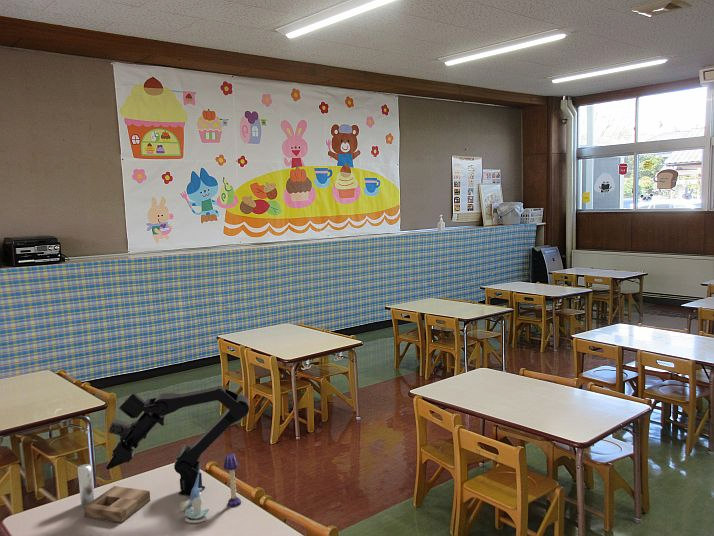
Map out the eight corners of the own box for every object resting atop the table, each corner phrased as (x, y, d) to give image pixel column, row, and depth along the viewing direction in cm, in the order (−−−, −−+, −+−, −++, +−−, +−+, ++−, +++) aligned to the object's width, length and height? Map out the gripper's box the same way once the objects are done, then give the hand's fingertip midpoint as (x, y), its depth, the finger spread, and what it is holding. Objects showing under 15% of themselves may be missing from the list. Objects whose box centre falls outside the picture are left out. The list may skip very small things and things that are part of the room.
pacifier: (204, 524, 180) (211, 513, 186) (203, 505, 179) (209, 495, 185) (181, 524, 181) (188, 513, 187) (179, 505, 180) (186, 495, 186)
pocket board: (150, 500, 195) (149, 490, 195) (121, 523, 182) (120, 512, 182) (115, 495, 199) (114, 486, 199) (84, 517, 186) (83, 506, 186)
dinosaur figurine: (191, 512, 195) (178, 510, 186) (201, 464, 201) (188, 460, 192) (199, 512, 194) (186, 511, 186) (208, 465, 200) (196, 461, 192)
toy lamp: (237, 508, 189) (234, 458, 187) (223, 507, 190) (220, 457, 188) (243, 500, 193) (240, 451, 191) (229, 499, 194) (226, 451, 192)
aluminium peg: (97, 502, 196) (93, 464, 194) (88, 508, 192) (84, 470, 190) (87, 500, 197) (83, 463, 195) (78, 506, 193) (74, 468, 192)
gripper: (128, 402, 202) (96, 436, 202) (117, 422, 184) (82, 460, 183) (154, 421, 205) (122, 456, 204) (146, 443, 187) (111, 481, 186)
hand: (110, 462), depth 194 cm, fingers open, 9 cm apart
